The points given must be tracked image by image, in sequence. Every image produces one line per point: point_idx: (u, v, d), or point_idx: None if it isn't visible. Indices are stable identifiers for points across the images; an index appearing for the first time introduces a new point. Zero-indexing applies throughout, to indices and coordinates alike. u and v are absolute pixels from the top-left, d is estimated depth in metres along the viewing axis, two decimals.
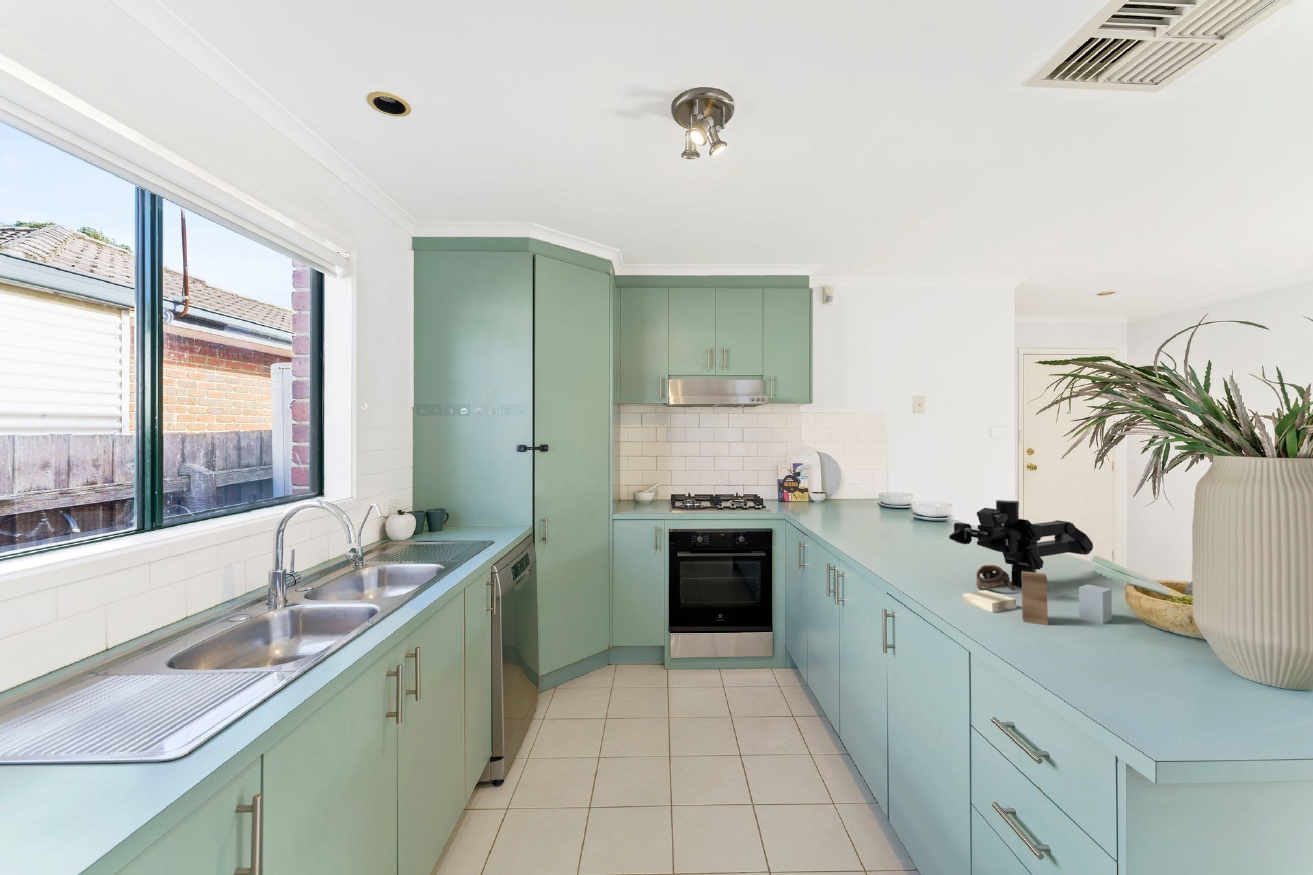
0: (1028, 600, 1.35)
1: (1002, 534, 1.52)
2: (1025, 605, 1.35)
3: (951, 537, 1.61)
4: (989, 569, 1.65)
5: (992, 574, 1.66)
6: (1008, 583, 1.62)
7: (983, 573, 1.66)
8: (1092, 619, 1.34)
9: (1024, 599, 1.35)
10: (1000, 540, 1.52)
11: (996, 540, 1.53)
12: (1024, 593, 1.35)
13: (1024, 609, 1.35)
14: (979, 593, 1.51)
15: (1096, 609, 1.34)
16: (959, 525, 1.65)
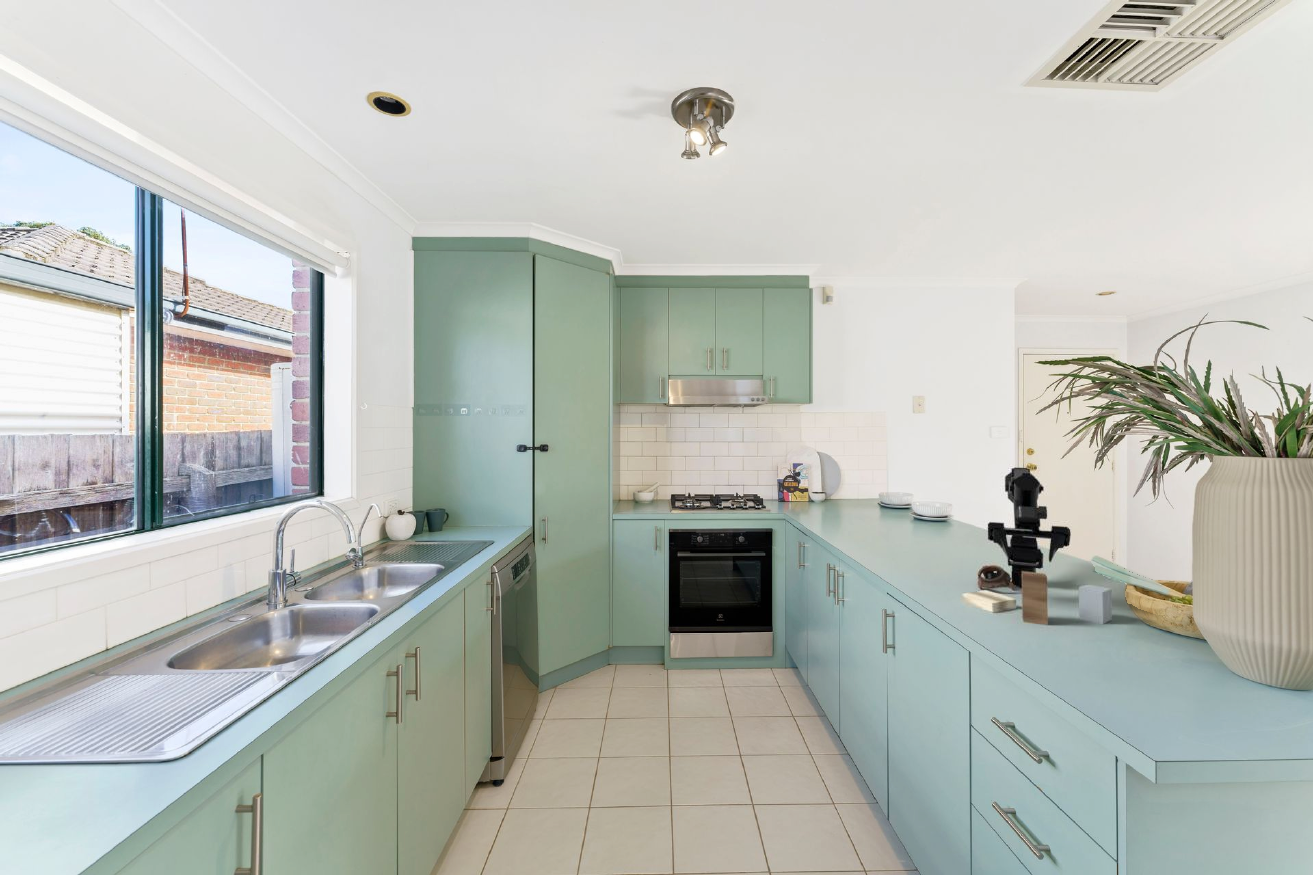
0: (1028, 600, 1.35)
1: (1061, 536, 1.41)
2: (1025, 605, 1.35)
3: (1009, 556, 1.45)
4: (990, 569, 1.65)
5: (993, 574, 1.66)
6: (1009, 583, 1.62)
7: (984, 573, 1.66)
8: (1092, 619, 1.34)
9: (1024, 599, 1.35)
10: None
11: None
12: (1024, 593, 1.35)
13: (1024, 609, 1.35)
14: (979, 593, 1.50)
15: (1096, 609, 1.34)
16: (999, 531, 1.49)
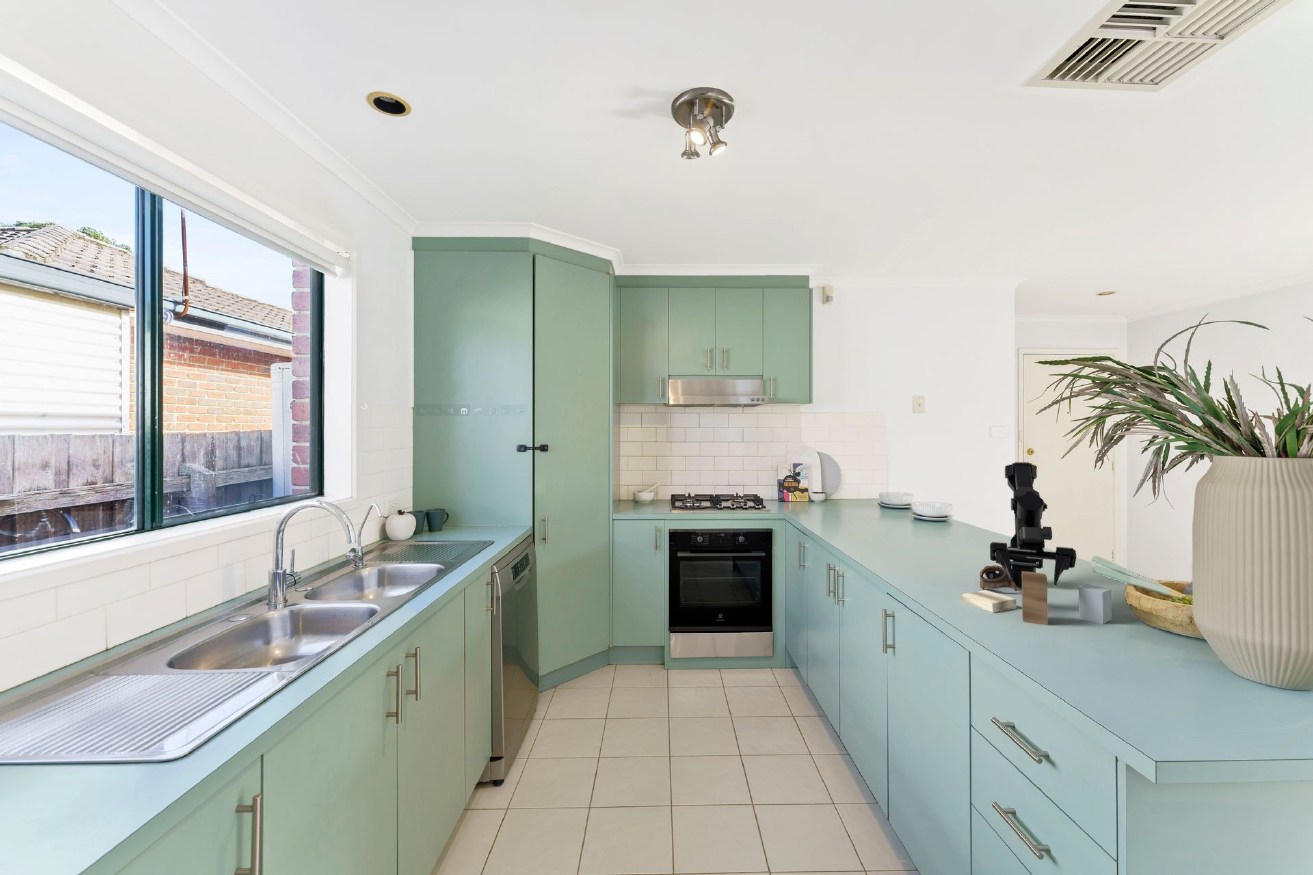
0: (1028, 600, 1.35)
1: (1066, 558, 1.36)
2: (1025, 605, 1.35)
3: (1012, 578, 1.40)
4: (992, 569, 1.64)
5: (995, 575, 1.66)
6: (1011, 583, 1.62)
7: (986, 573, 1.66)
8: (1092, 619, 1.34)
9: (1024, 599, 1.35)
10: (1063, 562, 1.37)
11: None
12: (1024, 593, 1.35)
13: (1024, 609, 1.35)
14: (978, 593, 1.50)
15: (1096, 609, 1.34)
16: (1002, 552, 1.43)
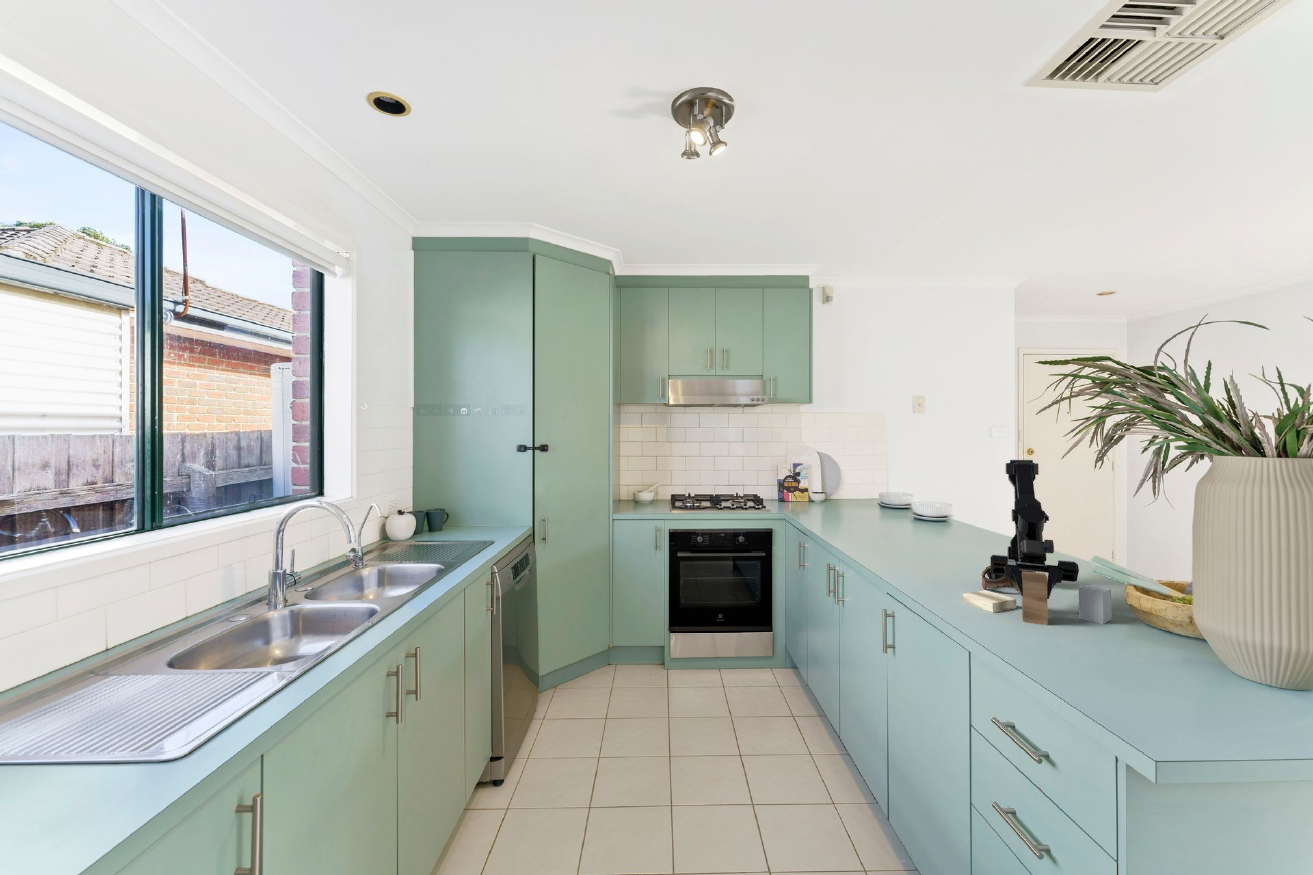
0: (1028, 600, 1.35)
1: (1059, 572, 1.34)
2: (1025, 605, 1.35)
3: (1022, 593, 1.36)
4: None
5: (997, 575, 1.65)
6: (1013, 583, 1.62)
7: (988, 573, 1.66)
8: (1092, 619, 1.34)
9: (1024, 599, 1.35)
10: None
11: None
12: (1024, 593, 1.35)
13: (1024, 609, 1.35)
14: (979, 593, 1.50)
15: (1096, 609, 1.34)
16: (1011, 566, 1.39)
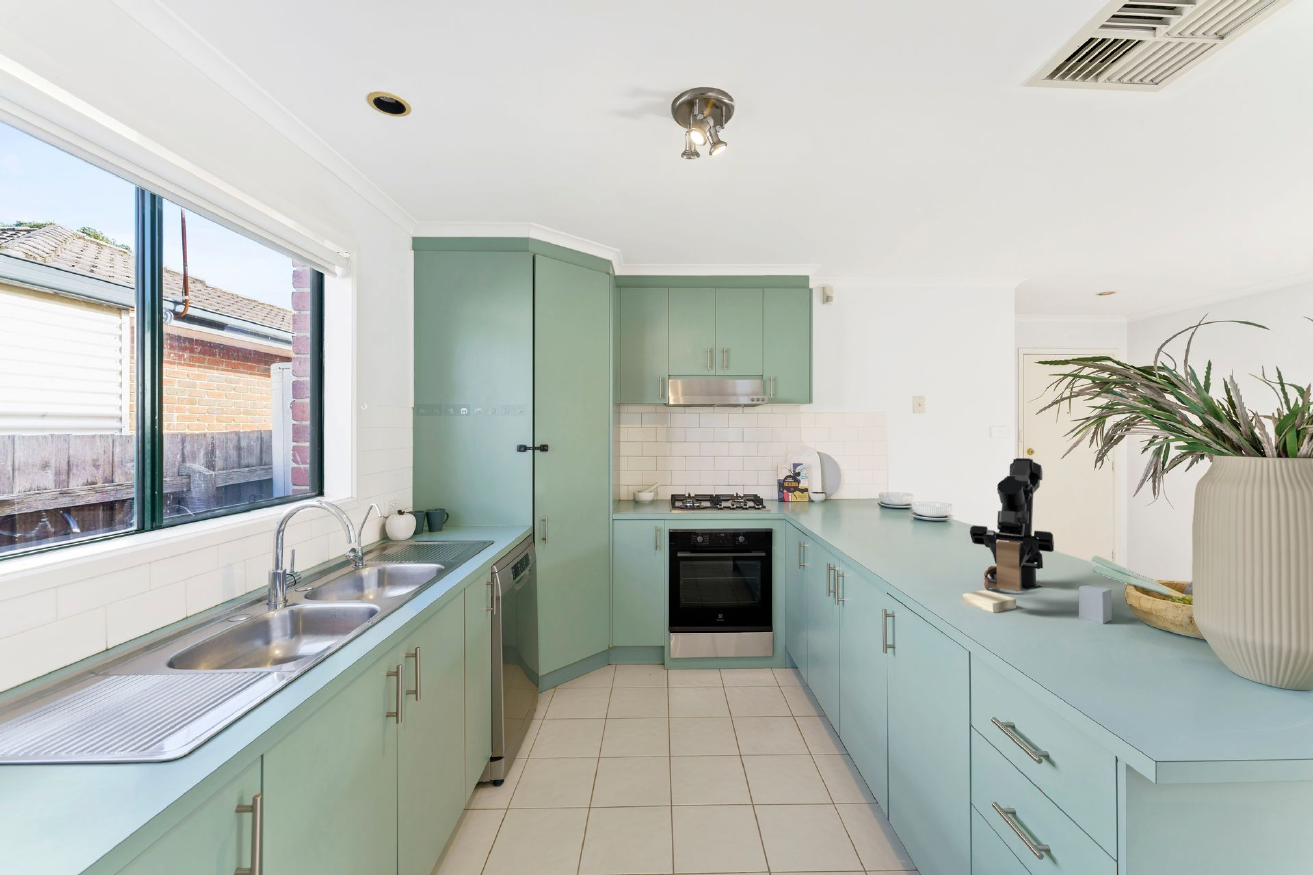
0: (1001, 567, 1.41)
1: (1033, 541, 1.39)
2: (998, 572, 1.42)
3: None
4: (996, 570, 1.64)
5: None
6: None
7: (990, 574, 1.65)
8: (1092, 619, 1.34)
9: (997, 567, 1.42)
10: (1031, 545, 1.41)
11: None
12: (997, 561, 1.42)
13: (997, 576, 1.42)
14: (978, 593, 1.50)
15: (1096, 609, 1.34)
16: (988, 536, 1.46)
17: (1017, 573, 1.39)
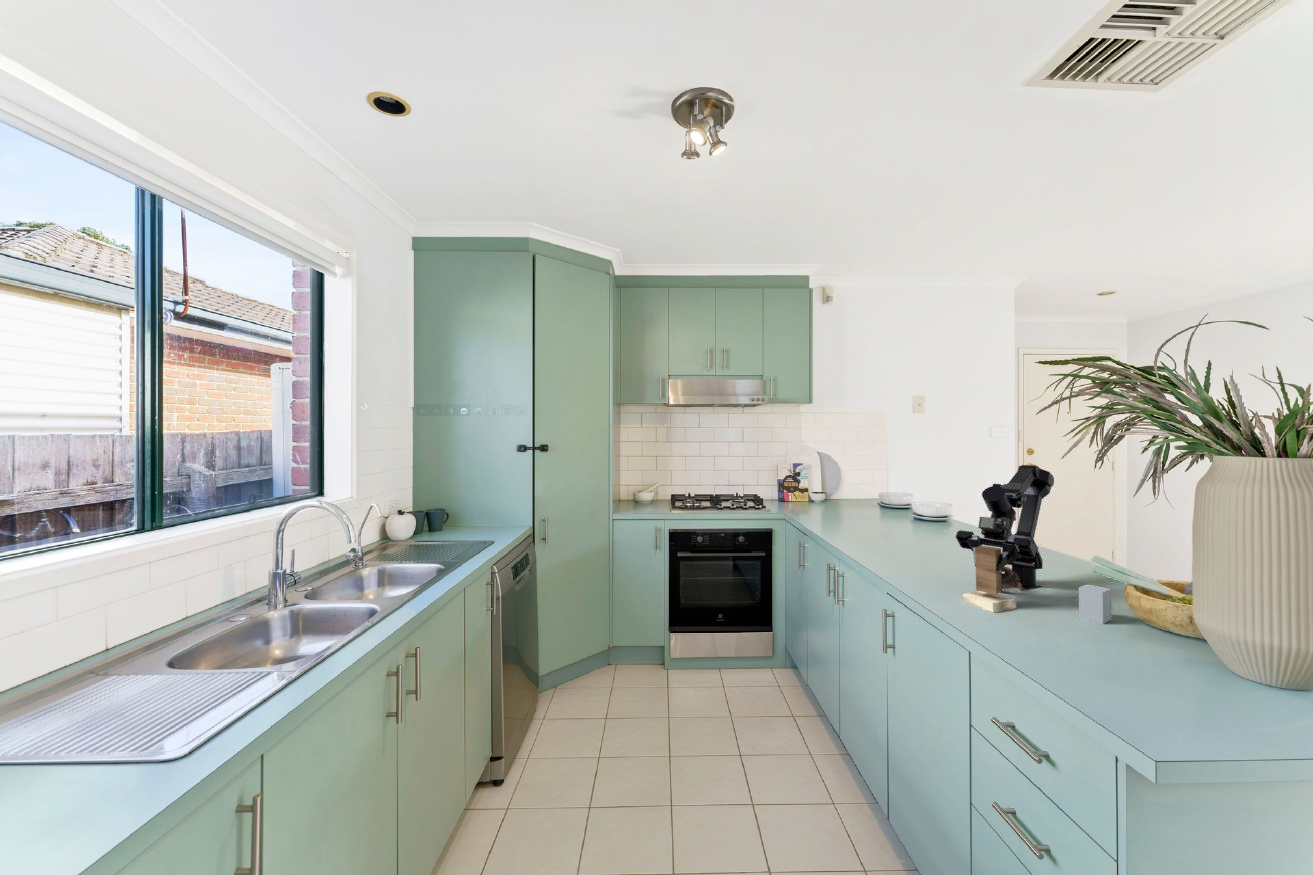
0: (980, 571, 1.48)
1: (1012, 547, 1.45)
2: (977, 575, 1.48)
3: None
4: None
5: (1001, 575, 1.65)
6: (1018, 584, 1.62)
7: None
8: (1092, 619, 1.34)
9: (976, 570, 1.49)
10: (1011, 550, 1.46)
11: None
12: (976, 564, 1.48)
13: (976, 579, 1.49)
14: (978, 593, 1.50)
15: (1096, 609, 1.34)
16: (971, 541, 1.52)
17: (994, 576, 1.45)
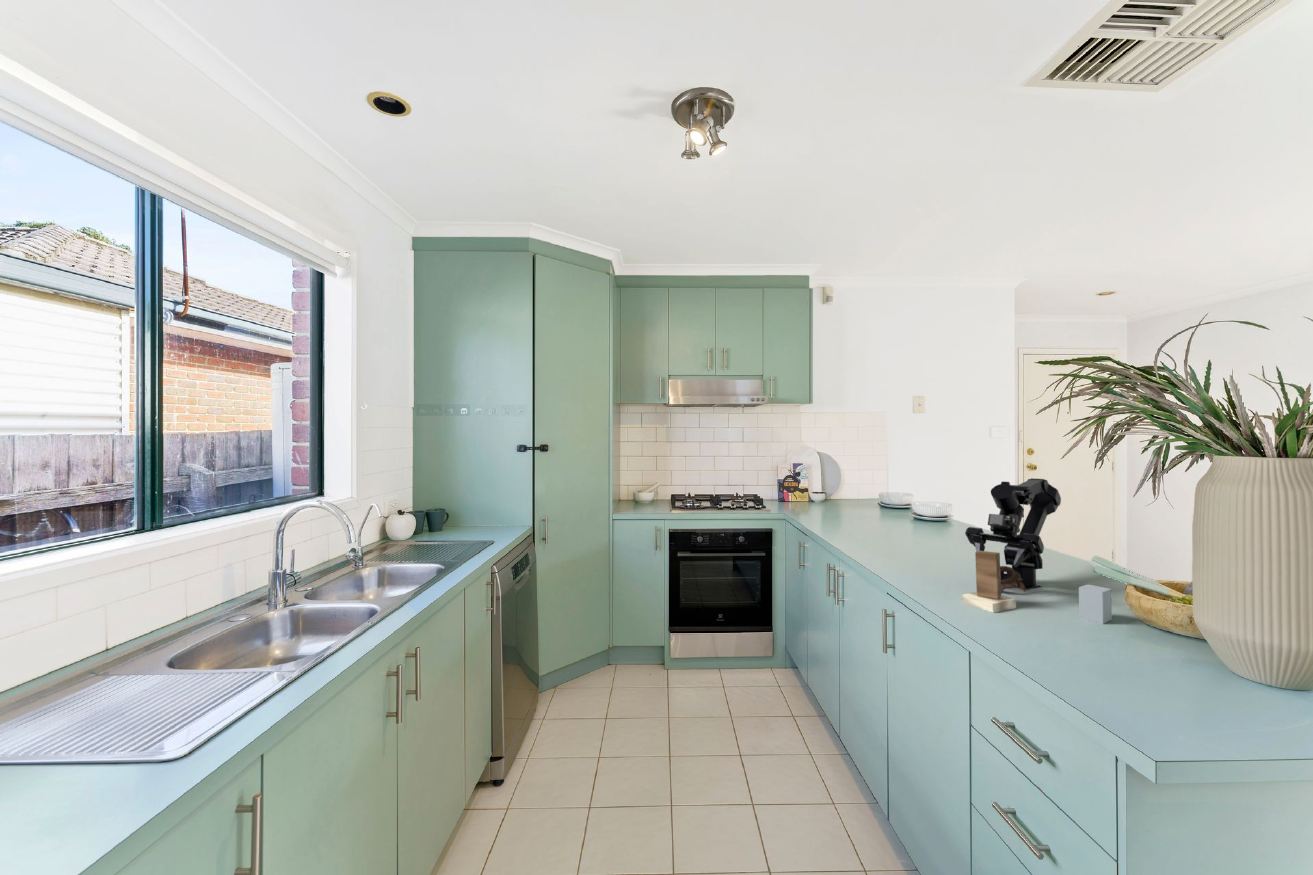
0: (980, 576, 1.48)
1: (1028, 544, 1.47)
2: (978, 580, 1.48)
3: None
4: (1000, 570, 1.64)
5: (1003, 575, 1.65)
6: (1020, 584, 1.61)
7: None
8: (1092, 619, 1.34)
9: (977, 575, 1.49)
10: (1028, 548, 1.49)
11: None
12: (977, 569, 1.49)
13: (977, 584, 1.49)
14: None
15: (1096, 609, 1.34)
16: (973, 536, 1.58)
17: (995, 581, 1.46)
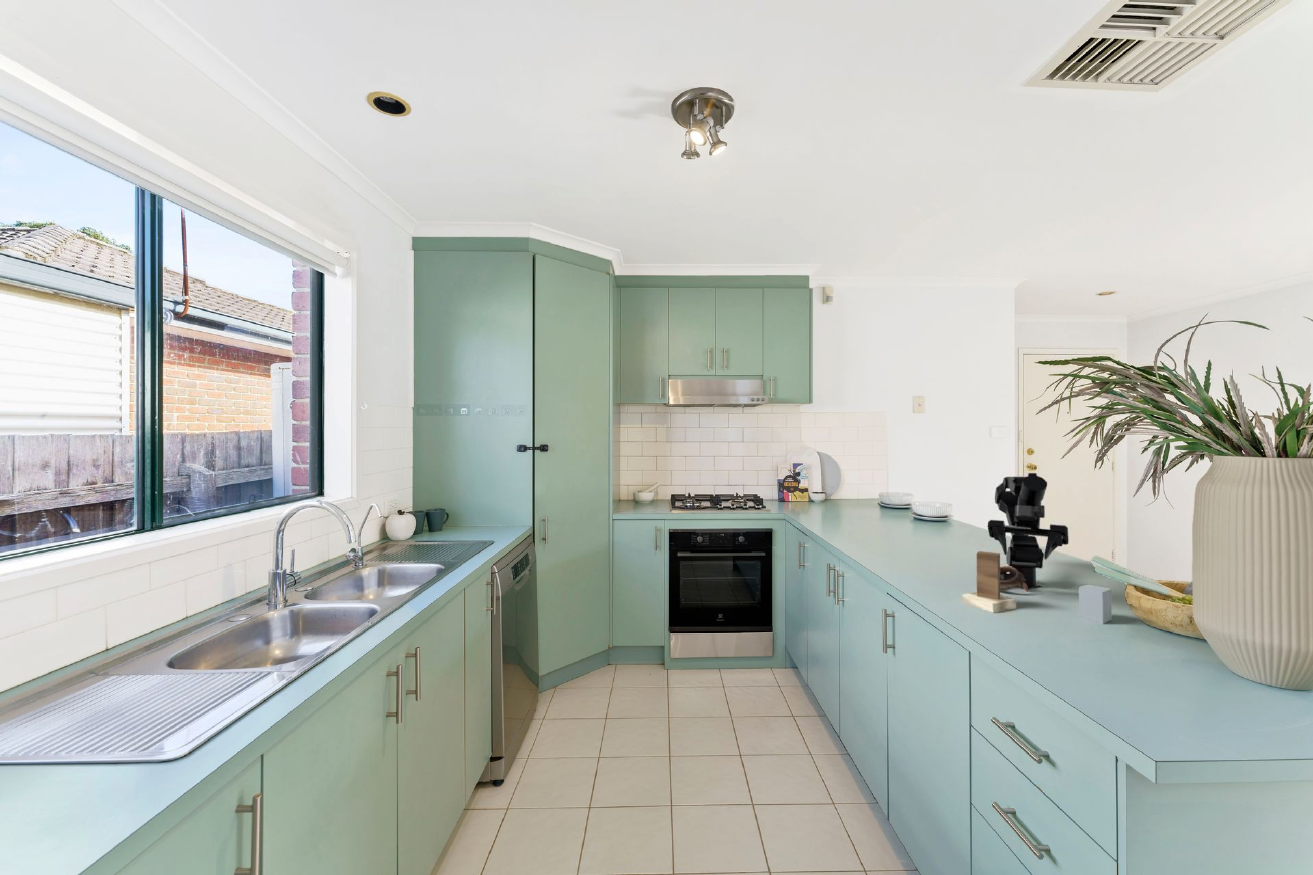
0: (981, 576, 1.48)
1: (1058, 535, 1.45)
2: (978, 581, 1.48)
3: (1006, 553, 1.51)
4: (1003, 570, 1.63)
5: (1006, 575, 1.64)
6: (1023, 584, 1.61)
7: None
8: (1092, 619, 1.34)
9: (977, 575, 1.48)
10: (1055, 539, 1.46)
11: None
12: (977, 570, 1.48)
13: (977, 585, 1.48)
14: None
15: (1096, 609, 1.34)
16: (997, 529, 1.54)
17: (996, 582, 1.45)
